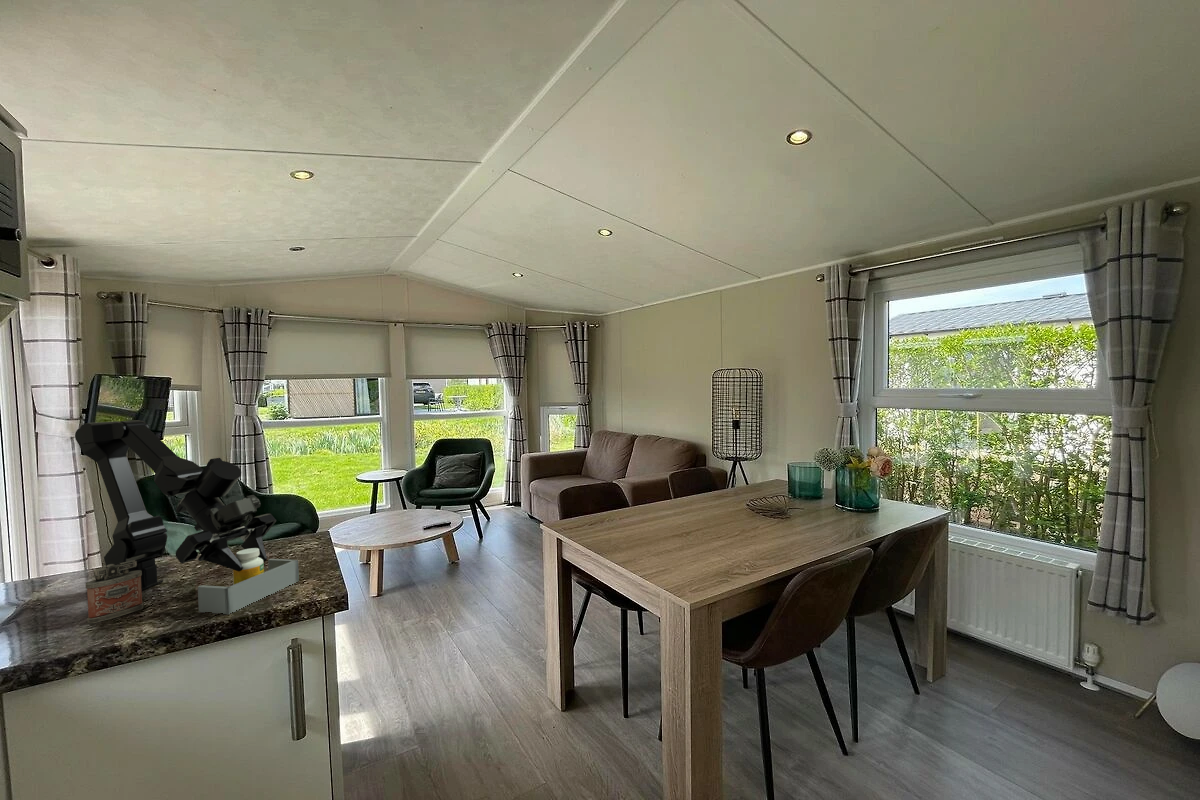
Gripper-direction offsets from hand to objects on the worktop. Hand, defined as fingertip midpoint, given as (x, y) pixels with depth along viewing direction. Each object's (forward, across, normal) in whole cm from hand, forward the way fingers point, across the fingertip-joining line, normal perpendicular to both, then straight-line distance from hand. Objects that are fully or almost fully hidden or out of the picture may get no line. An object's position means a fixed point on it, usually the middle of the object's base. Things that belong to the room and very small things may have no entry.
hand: (253, 565), depth 104 cm
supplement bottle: (+4, 0, +6) cm, 7 cm away
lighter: (-10, -12, +19) cm, 25 cm away
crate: (+4, 0, +6) cm, 7 cm away
